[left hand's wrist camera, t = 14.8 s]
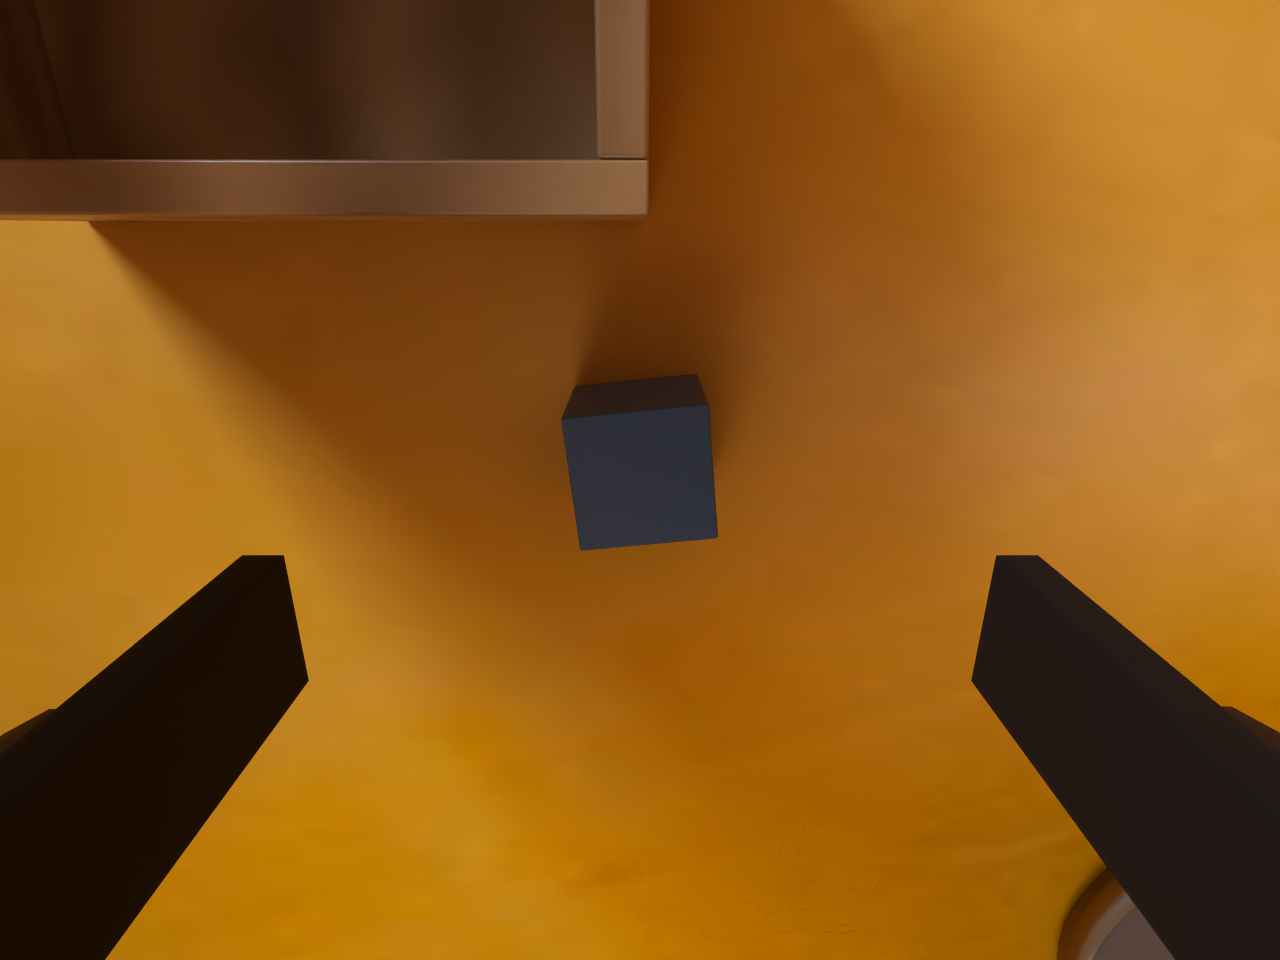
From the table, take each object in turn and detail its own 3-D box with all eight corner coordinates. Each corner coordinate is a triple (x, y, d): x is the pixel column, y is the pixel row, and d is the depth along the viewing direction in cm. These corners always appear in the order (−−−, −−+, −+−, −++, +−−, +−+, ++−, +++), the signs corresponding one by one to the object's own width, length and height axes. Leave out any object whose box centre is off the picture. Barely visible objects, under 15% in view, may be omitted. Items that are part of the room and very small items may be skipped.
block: (697, 373, 23) (709, 403, 19) (705, 489, 25) (718, 538, 21) (574, 386, 23) (560, 417, 19) (589, 500, 25) (580, 551, 21)
